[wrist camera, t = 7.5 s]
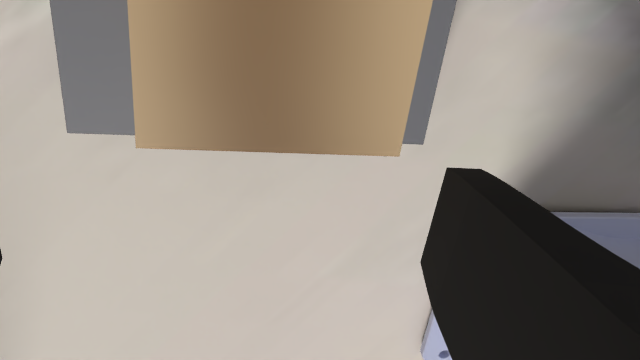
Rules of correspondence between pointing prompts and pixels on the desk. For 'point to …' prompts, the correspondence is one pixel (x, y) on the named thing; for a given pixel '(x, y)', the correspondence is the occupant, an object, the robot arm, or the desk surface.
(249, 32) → the oak cube
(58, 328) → the desk surface
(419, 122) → the charcoal plinth
